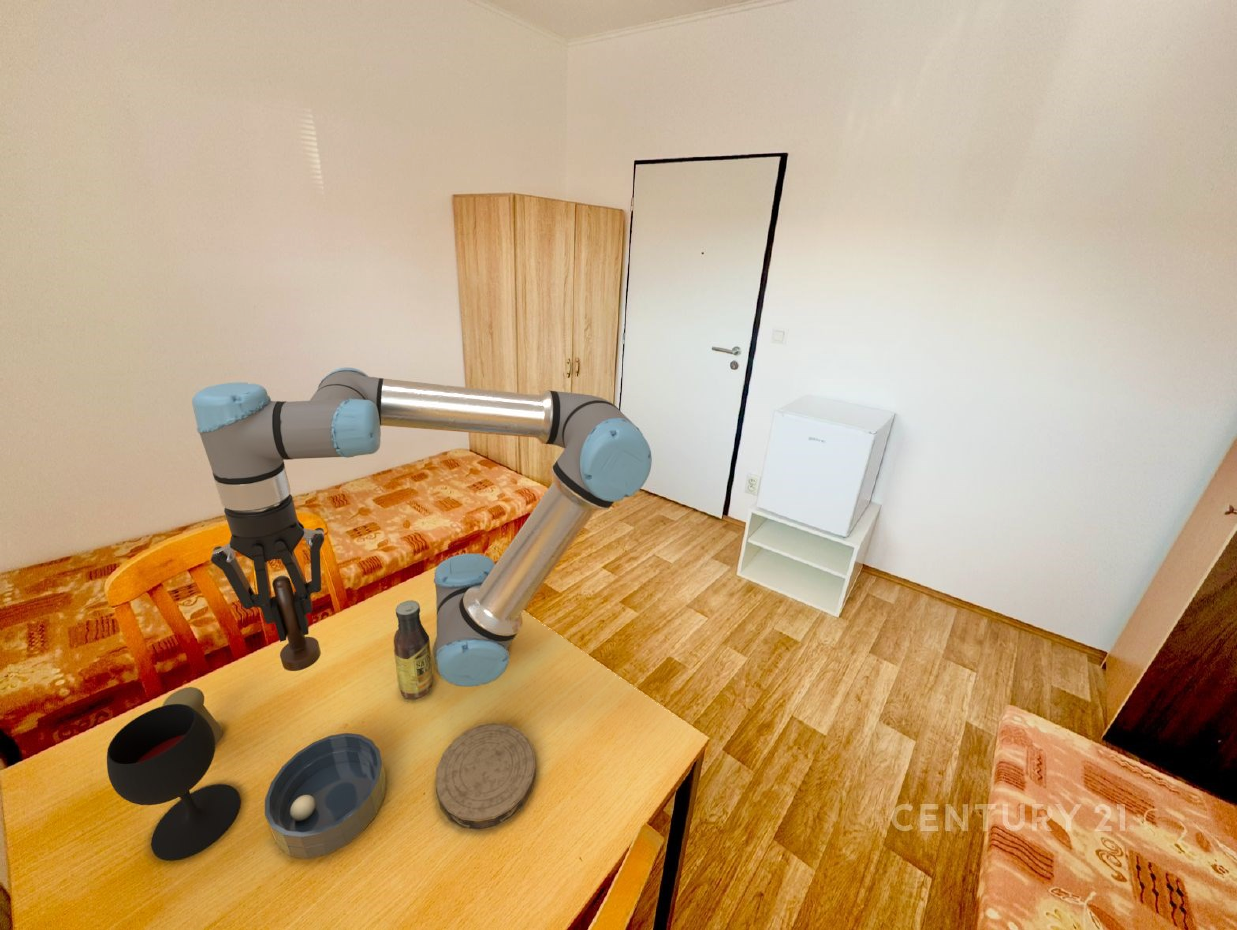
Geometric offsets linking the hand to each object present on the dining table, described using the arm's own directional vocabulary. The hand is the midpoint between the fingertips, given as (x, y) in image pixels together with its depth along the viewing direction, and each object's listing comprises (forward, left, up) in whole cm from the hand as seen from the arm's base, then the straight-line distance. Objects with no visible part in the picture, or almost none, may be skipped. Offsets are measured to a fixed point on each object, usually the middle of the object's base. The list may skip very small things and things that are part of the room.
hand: (294, 631), depth 75 cm
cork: (+18, -9, -25) cm, 32 cm away
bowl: (0, +13, -25) cm, 28 cm away
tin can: (-22, +21, -25) cm, 39 cm away
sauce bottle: (-16, -3, -25) cm, 30 cm away
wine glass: (+17, +6, -25) cm, 30 cm away
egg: (+3, +13, -22) cm, 26 cm away
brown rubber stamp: (0, 0, -6) cm, 6 cm away
